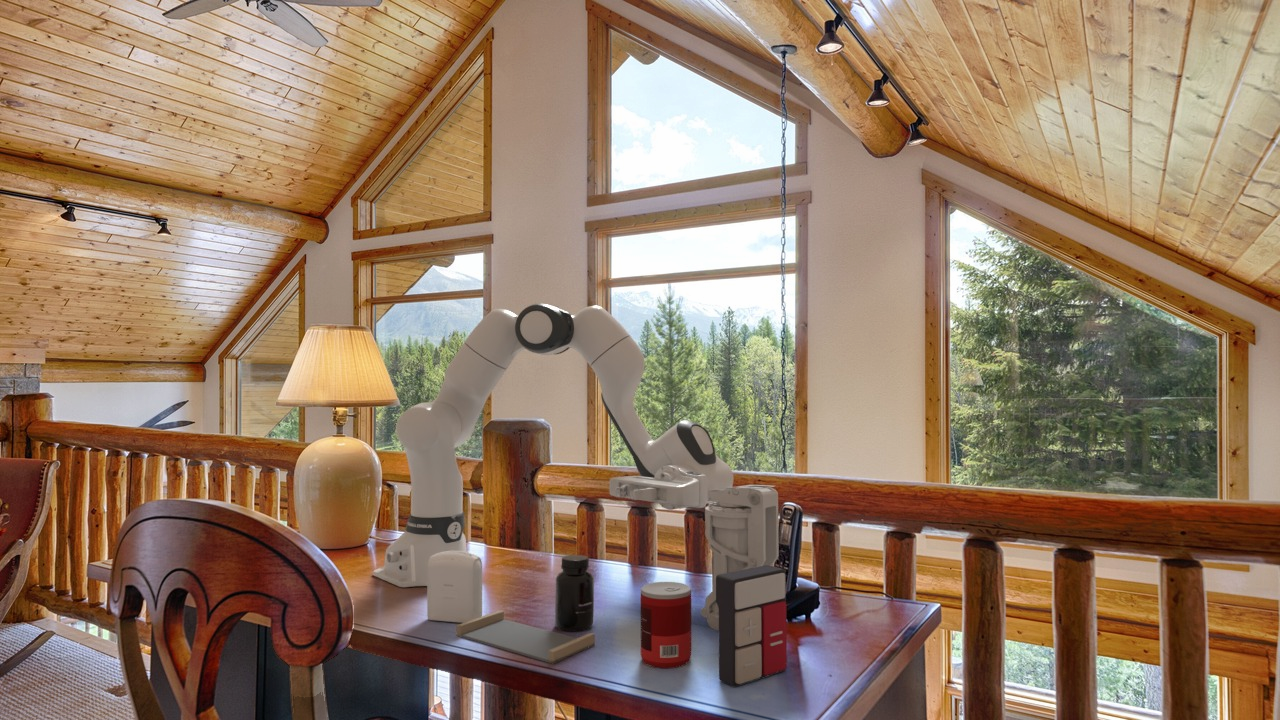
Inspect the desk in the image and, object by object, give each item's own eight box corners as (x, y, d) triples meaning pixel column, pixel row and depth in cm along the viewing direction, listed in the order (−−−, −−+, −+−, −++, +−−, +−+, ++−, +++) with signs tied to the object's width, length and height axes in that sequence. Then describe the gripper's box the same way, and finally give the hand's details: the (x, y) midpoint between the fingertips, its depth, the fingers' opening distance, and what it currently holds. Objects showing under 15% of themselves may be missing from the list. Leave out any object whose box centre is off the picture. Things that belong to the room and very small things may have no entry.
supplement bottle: (587, 633, 125) (588, 563, 125) (549, 631, 126) (550, 561, 127) (598, 621, 132) (598, 554, 132) (561, 618, 133) (562, 552, 134)
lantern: (693, 624, 130) (693, 483, 131) (728, 611, 137) (728, 478, 138) (754, 642, 121) (753, 490, 122) (788, 627, 128) (787, 484, 129)
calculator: (736, 690, 102) (735, 581, 102) (715, 680, 105) (715, 574, 106) (790, 672, 108) (789, 569, 109) (769, 663, 112) (768, 564, 112)
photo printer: (423, 621, 132) (423, 552, 132) (435, 614, 136) (436, 547, 136) (474, 626, 129) (474, 555, 129) (485, 618, 133) (486, 550, 134)
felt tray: (456, 635, 124) (456, 624, 124) (499, 620, 132) (500, 610, 132) (553, 663, 111) (553, 651, 111) (594, 645, 119) (594, 633, 119)
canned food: (701, 658, 113) (701, 587, 114) (668, 673, 108) (668, 598, 108) (663, 647, 119) (663, 578, 119) (630, 660, 113) (630, 588, 113)
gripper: (637, 467, 156) (588, 472, 146) (712, 475, 141) (662, 482, 131) (638, 497, 155) (588, 504, 146) (712, 508, 141) (662, 517, 131)
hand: (624, 494), depth 138 cm, fingers open, 3 cm apart
